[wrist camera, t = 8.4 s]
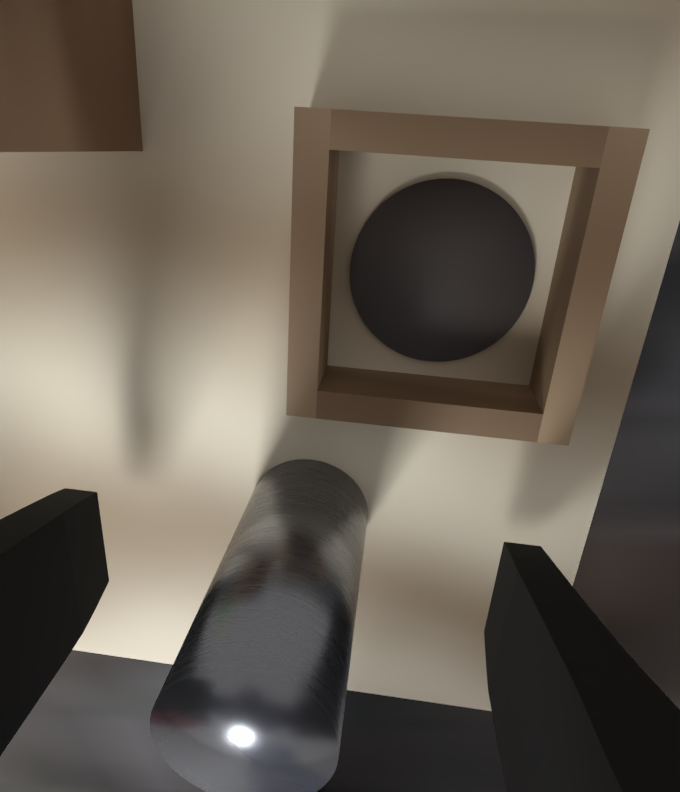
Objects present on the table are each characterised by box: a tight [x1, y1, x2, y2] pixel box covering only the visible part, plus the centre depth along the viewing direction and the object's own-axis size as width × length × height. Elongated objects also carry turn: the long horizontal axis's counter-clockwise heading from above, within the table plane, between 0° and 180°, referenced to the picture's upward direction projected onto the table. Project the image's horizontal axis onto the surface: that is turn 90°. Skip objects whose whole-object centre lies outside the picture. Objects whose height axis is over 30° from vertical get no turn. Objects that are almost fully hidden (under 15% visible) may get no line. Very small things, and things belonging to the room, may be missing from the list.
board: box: [0, 0, 680, 711], centre depth 9 cm, size 19×14×4 cm
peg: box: [150, 459, 368, 792], centre depth 9 cm, size 2×2×5 cm
